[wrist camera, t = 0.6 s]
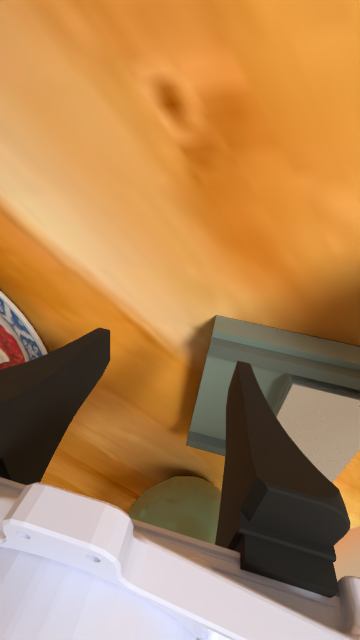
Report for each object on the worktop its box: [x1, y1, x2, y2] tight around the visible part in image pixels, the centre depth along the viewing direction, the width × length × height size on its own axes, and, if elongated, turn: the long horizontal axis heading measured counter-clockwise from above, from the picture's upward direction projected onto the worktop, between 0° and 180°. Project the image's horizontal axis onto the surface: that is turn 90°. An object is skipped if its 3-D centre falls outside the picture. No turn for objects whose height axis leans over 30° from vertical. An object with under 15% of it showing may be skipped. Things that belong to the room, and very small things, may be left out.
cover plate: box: [272, 374, 360, 482], centre depth 22 cm, size 7×10×2 cm
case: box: [186, 315, 360, 456], centre depth 24 cm, size 14×14×4 cm
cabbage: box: [128, 476, 222, 545], centre depth 28 cm, size 16×19×20 cm
